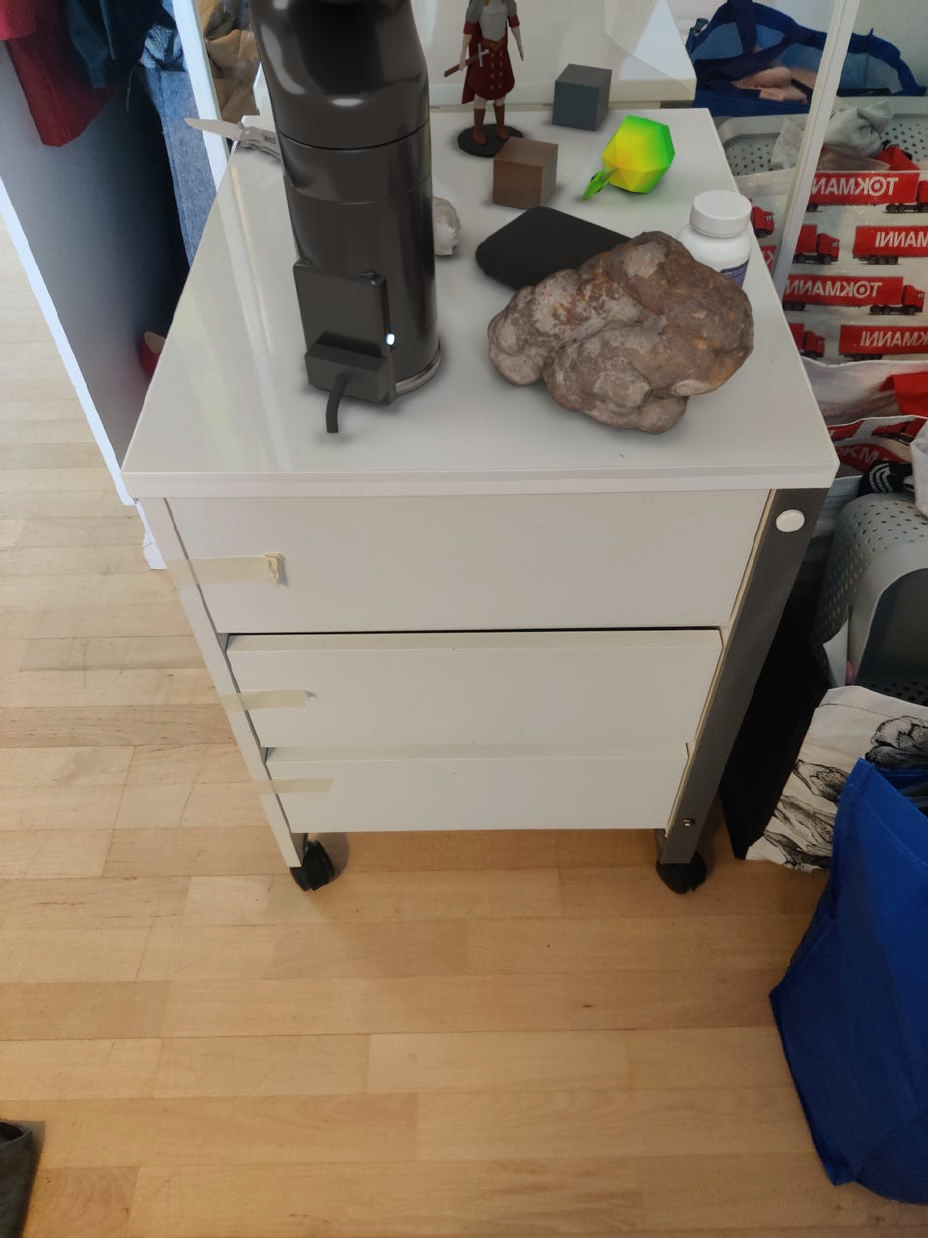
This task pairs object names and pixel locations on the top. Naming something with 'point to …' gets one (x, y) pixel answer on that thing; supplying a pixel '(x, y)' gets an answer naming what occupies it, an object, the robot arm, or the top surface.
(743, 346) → the rock
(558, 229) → the carrying case
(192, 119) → the knife
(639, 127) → the apple
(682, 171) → the top surface
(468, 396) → the top surface
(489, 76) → the figurine
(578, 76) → the slate block
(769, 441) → the top surface
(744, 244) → the pill bottle
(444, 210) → the seashell
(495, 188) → the walnut block
